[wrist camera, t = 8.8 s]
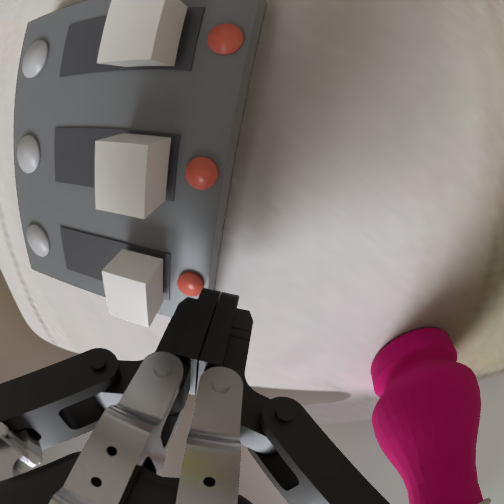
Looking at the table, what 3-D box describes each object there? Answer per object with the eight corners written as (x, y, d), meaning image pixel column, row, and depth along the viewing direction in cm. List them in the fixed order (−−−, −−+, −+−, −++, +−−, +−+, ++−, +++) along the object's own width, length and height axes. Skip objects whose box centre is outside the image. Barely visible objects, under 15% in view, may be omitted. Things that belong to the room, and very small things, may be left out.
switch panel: (51, 25, 8) (25, 22, 6) (266, 3, 8) (262, -17, 6) (49, 253, 15) (29, 270, 13) (212, 301, 15) (203, 328, 13)
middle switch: (123, 133, 9) (95, 140, 7) (171, 137, 9) (147, 145, 7) (120, 192, 10) (95, 209, 8) (165, 200, 10) (144, 219, 8)
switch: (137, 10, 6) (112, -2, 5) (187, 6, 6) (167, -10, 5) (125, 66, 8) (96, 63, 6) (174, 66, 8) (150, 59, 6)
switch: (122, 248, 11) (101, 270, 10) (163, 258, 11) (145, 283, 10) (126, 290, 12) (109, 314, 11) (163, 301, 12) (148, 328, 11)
